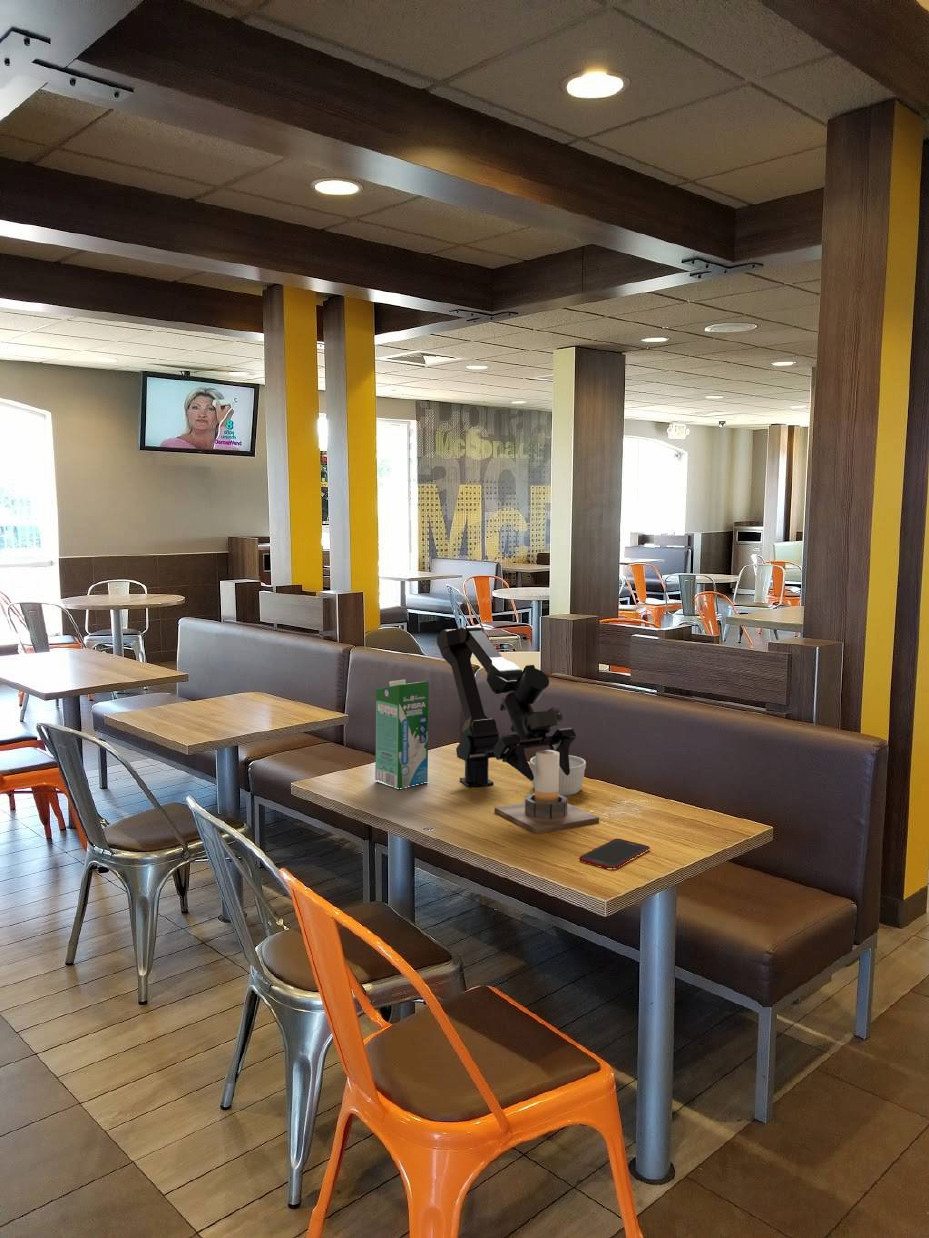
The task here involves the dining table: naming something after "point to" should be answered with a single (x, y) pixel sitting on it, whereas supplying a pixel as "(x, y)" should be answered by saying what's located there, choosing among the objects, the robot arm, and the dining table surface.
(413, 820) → the dining table surface
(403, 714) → the milk carton
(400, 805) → the dining table surface
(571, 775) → the ramekin
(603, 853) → the cell phone
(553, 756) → the paper roll
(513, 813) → the roll holder stand
